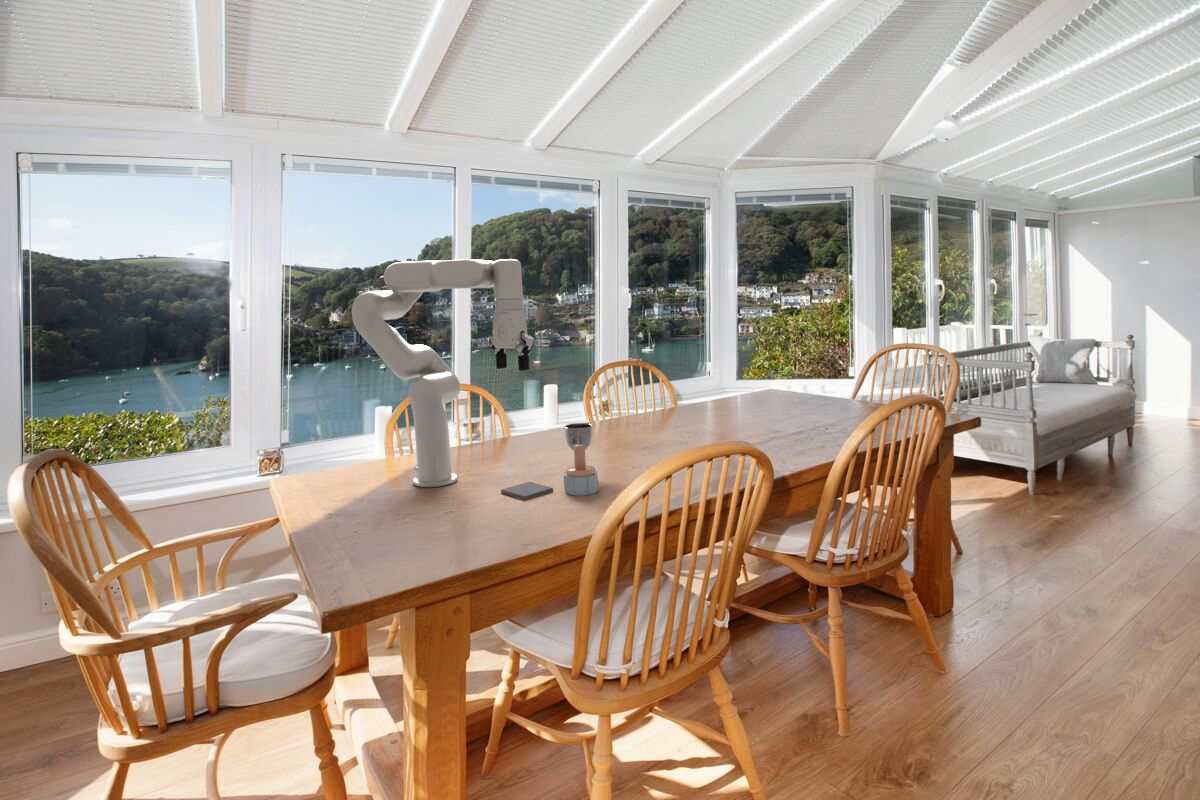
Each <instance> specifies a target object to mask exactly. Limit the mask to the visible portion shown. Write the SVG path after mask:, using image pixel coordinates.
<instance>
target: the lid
mask: <svg viewBox="0 0 1200 800" xmlns="http://www.w3.org/2000/svg"><path fill="white" fill-rule="evenodd" d="M573 456H574V457H573V458H574V465H571V466H568V467H566V468H565V472H566V475H567V476H570V477H587V476H591V475H594V474H595V471H596V467H594V466H592V465H586V463H587V462H586V450H585V445H583V444H577V445H574V451H573Z"/></svg>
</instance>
